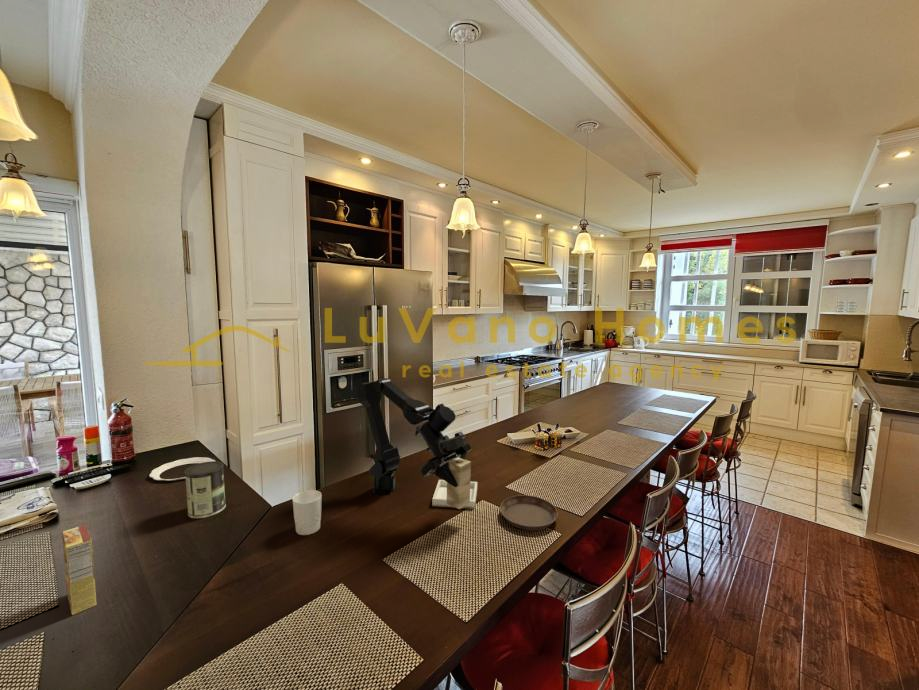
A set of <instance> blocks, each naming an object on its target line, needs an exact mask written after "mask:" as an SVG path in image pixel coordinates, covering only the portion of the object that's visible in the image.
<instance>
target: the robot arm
mask: <svg viewBox="0 0 919 690" xmlns="http://www.w3.org/2000/svg"><path fill="white" fill-rule="evenodd" d="M355 394H356V396H357V399H358V401H359V403H360V404H361V405H362V407H364V408H365V410H366V415H367V418H368V422H369V426H370V429H371V433H372V436H373V441H374V444H375V445H374V446H375V452H374V455H373V459H374V460H373V461H374V464H373V465H372V466H371V467H370V468H369V475H370V476H371V477H373V478H374V479H373V483H374V484H373V486H374V489H373V490H372V493H373V494H381V495H390V494H392V492H393V490H394V489H395V488H396V475H394V473H395V472H397V471H398V468H399V467H400V464H401V455H400V454H399V453H400V452H399V448H398V447H397V446H395V447H394V446H393V445H392V444H391V442H390V438H389V434H388V431H387V428H386V423H385V420H384V416H383V412H382V408H381V401H382V397H383V395H384V397H386V398H387V399H388V400H390V401H391V402H392V403H393V404H394V405H396V406H397V407H398V408H399V409H400V411H402V416H403V417H404V418H405V419H406V421H407V422H408V423H409V424H410V425H412V426H414V425H418V426H416V427H415V428H416V429H415V433H414V435H415V436H420V435H421V436H420V437H421V438H422V439H423V441H424V443H426V445H427V448H426V451H427V452H428V453H429V452H431V453H432V455H433V457H432V458H429V459H428V460H427V461H426V462H425V463H424V464H423V465H421V466H420V473H421V474H422V476H423V477H427V476H430V474H431V475H432V476H435V477H438V478H440V480H445V481H446V482H448V483H449V484H451V485H452V486H454V487H457V486H458V484H457V482H456V480H455V478H454V476H453V475H452V473H451V471H450V469H449V461H451V460H453V459H455V458H458V457H459V458H462V459H465V460H466V456H468V453H469V452H470V451H471V450H473V449H472V447H471V446H470V445H471V444H469V443H468V442H467V443H466V439H467V437H466V435H465V434H464V433H463V432H462V431H458V432H455V433H454V437H451V438H449V436H448V435H444V434H443V433H442V432H444V431H445V430H447V429H448V428H449V427H450V425H451V424H453V422H455V420H456V413H455V412H454V410H453V409H451V408H450V407H448V406H446V405H444V403H440V404H439V403H438V404H437V405H436V407H435V408H432V407H430V406H429V405H428V404H427V403H424V402H423V401H422V400H418V399H414V398H412V397H411V396H409V395H408V394H407V393H406V392H404V391H403V390H402V389H400V387H398V386H397V385H395V383H393V382H392V380H391V379H390V378H387V377H386V378H380V379H376V380H373V381H368V382H361V383H359V384H358V385H357V387H356V389H355ZM382 394H383V395H382ZM421 423H422V424H421ZM419 424H421V425H419ZM432 470H433V473H432Z"/></svg>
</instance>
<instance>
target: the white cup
mask: <svg viewBox="0 0 919 690" xmlns="http://www.w3.org/2000/svg"><path fill="white" fill-rule="evenodd" d="M292 508H293V510H292V511H293V518H294V523H295V524H294V525H295V532H296V533H297V535H300V536H309V535H311V534H312V535H313V534H315V533H316V532H318V531H319V530H320V529H321V520H322V492H321V491H319V490H315V489H307V490H304V491H300V492H297V493H296V494H294V495H293V497H292Z"/></svg>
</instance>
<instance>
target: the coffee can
mask: <svg viewBox="0 0 919 690" xmlns="http://www.w3.org/2000/svg"><path fill="white" fill-rule="evenodd" d="M224 473H225V472H224V463H223V462H221V461H216V460H215V461H211V462H204V463H195V464H194V465H191V466H189V467H188V468H186V469H185V470H184V475H185V476H184V477H185V478H186V479H185V487H186V503H187V516H188V517H189V518H191V519H204V518H205V519H206V518H209V517H211V516H214V515H218V514H219V513H220V512H222V511H224V510H225V508H226V507H227V504H226V493H225V492H226V491H225V478H224V477H225V475H224Z"/></svg>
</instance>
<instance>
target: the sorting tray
mask: <svg viewBox="0 0 919 690" xmlns="http://www.w3.org/2000/svg"><path fill="white" fill-rule="evenodd" d="M435 487H436V488H435V490H434V493H433V495H432V496H433V497H432V499H431V500H432V501H431V502H432V504H431V505H432V507H440V508H455V507H453V506H451V505H448V504H447V482H446V481H445V480H443V479H438V482H437V484H436V486H435ZM477 493H478V481H470V503H469V504H467V505H466V506H464V507H463V508H462V509H470V510H471V509H472V510H475V509H476V502H477Z"/></svg>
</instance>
